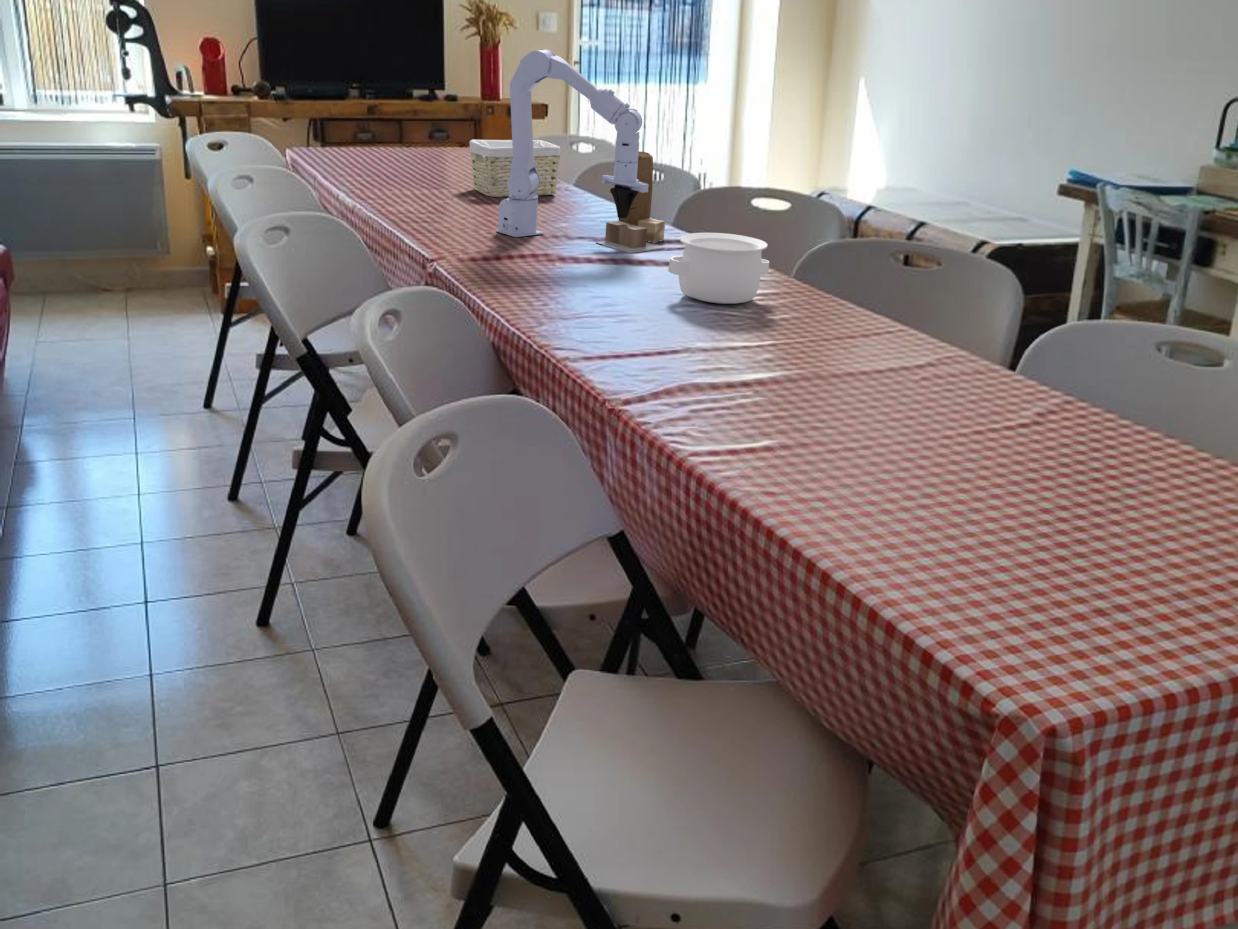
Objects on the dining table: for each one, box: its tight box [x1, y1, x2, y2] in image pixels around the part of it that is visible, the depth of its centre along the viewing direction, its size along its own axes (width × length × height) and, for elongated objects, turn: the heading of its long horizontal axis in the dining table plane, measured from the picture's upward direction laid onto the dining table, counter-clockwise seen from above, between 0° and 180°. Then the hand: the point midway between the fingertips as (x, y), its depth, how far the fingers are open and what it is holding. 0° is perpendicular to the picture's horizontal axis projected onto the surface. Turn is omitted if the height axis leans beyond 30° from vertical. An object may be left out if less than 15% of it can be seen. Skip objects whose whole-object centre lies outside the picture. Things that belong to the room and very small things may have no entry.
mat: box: [596, 240, 665, 254], centre depth 284 cm, size 12×12×1 cm
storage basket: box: [468, 139, 561, 198], centre depth 342 cm, size 24×16×15 cm
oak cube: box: [638, 217, 666, 243], centre depth 292 cm, size 5×5×5 cm
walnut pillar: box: [604, 220, 647, 248], centre depth 284 cm, size 4×4×10 cm
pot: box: [667, 232, 770, 305], centre depth 238 cm, size 22×17×12 cm
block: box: [618, 151, 654, 226], centre depth 300 cm, size 11×8×20 cm
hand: (622, 217), depth 284 cm, fingers closed
